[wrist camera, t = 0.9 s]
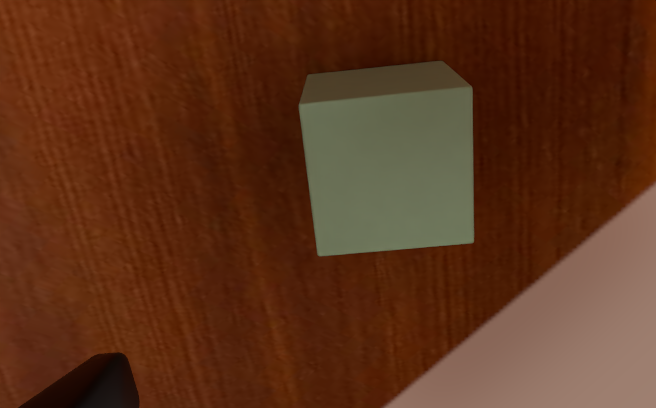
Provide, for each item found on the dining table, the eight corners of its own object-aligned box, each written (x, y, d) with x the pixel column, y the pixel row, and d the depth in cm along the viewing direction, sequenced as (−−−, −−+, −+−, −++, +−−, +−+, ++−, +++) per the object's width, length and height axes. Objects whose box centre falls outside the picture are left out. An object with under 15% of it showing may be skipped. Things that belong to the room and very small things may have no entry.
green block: (446, 188, 20) (474, 244, 16) (321, 199, 21) (317, 257, 17) (443, 60, 19) (473, 85, 15) (306, 74, 19) (298, 104, 15)
